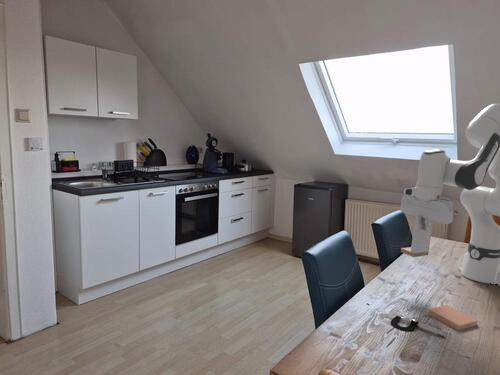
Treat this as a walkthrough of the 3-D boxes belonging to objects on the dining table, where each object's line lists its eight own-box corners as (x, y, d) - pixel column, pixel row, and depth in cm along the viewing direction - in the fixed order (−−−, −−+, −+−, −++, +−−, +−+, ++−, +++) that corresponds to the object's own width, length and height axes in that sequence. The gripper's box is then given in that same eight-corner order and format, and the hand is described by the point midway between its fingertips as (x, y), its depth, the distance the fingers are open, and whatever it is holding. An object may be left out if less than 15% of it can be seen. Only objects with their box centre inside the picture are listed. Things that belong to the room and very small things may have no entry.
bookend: (415, 250, 147) (420, 212, 144) (428, 255, 142) (433, 215, 139) (400, 251, 143) (405, 212, 141) (413, 257, 138) (418, 216, 136)
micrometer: (386, 326, 115) (387, 318, 115) (395, 318, 120) (396, 311, 120) (439, 346, 105) (440, 338, 105) (445, 337, 111) (446, 329, 110)
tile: (446, 305, 128) (477, 320, 118) (445, 310, 128) (476, 326, 118) (428, 309, 124) (459, 325, 114) (427, 314, 124) (458, 331, 114)
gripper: (460, 198, 129) (454, 236, 131) (411, 188, 147) (407, 222, 149) (447, 199, 126) (442, 238, 128) (400, 188, 144) (395, 223, 146)
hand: (423, 229), depth 139 cm, fingers closed on bookend
